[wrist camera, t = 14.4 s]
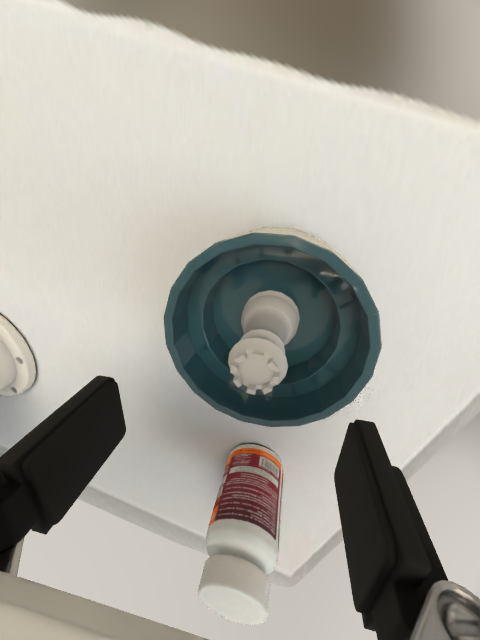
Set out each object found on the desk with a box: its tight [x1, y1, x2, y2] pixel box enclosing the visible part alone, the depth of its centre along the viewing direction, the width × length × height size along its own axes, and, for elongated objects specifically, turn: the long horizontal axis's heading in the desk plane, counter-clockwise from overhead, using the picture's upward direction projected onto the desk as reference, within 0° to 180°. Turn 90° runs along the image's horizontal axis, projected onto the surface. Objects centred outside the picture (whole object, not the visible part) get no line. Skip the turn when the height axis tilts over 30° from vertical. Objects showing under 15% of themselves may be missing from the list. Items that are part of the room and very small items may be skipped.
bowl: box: [164, 227, 382, 427], centre depth 18 cm, size 13×13×6 cm
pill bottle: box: [198, 444, 283, 625], centre depth 23 cm, size 6×6×11 cm
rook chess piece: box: [228, 290, 300, 395], centre depth 16 cm, size 4×4×8 cm
